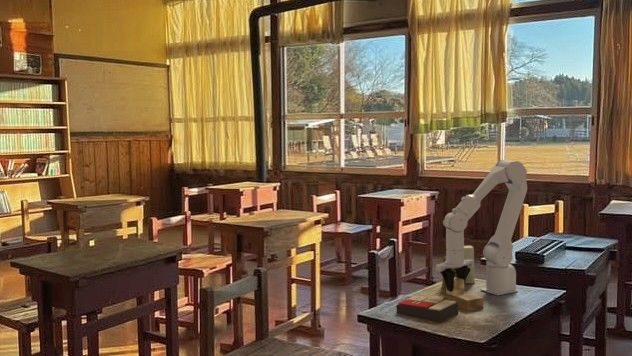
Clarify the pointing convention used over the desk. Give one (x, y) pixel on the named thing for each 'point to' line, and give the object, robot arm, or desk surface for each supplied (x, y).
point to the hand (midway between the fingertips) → (455, 289)
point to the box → (469, 255)
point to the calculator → (428, 308)
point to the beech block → (457, 287)
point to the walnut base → (469, 301)
